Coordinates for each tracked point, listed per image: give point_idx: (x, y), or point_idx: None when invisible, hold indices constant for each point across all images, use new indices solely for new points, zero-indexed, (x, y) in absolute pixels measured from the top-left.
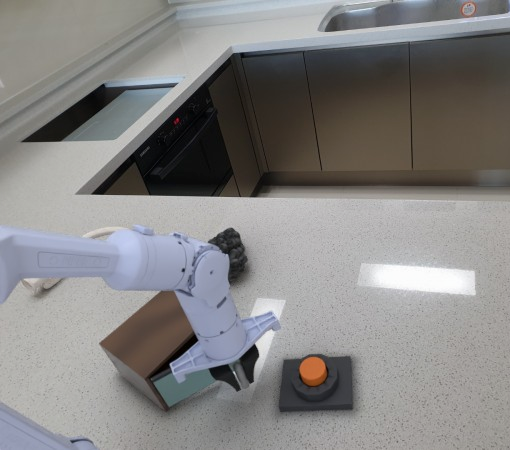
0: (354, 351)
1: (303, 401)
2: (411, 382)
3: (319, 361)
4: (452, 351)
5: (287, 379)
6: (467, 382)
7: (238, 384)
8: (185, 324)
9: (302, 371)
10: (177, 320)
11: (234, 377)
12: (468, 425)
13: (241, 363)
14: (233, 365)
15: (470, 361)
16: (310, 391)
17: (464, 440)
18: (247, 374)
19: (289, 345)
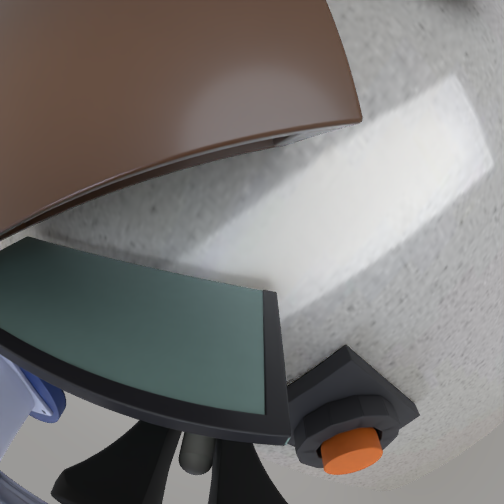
0: (433, 391)
1: (292, 439)
2: (408, 448)
3: (374, 459)
4: (459, 433)
5: (310, 401)
6: (426, 458)
7: (178, 439)
8: (5, 94)
9: (334, 462)
10: (5, 23)
11: (170, 456)
12: (381, 480)
13: (218, 444)
14: (182, 464)
15: (450, 445)
16: (311, 461)
17: (365, 486)
18: (212, 470)
19: (398, 304)
